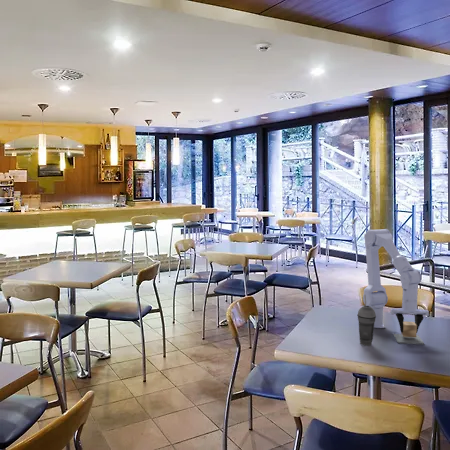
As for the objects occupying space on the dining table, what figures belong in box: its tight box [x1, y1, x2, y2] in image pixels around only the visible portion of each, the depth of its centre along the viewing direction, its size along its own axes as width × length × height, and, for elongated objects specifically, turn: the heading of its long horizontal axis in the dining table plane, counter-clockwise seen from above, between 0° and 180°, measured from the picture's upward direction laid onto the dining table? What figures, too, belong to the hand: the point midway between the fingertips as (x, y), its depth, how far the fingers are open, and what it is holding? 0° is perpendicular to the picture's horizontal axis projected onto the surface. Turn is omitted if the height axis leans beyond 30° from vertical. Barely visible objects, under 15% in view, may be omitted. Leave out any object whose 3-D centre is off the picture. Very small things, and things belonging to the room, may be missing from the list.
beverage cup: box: [357, 294, 376, 347], centre depth 188 cm, size 7×7×20 cm
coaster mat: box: [393, 333, 425, 346], centre depth 194 cm, size 10×10×1 cm
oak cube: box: [400, 321, 418, 337], centre depth 193 cm, size 5×5×5 cm
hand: (408, 331), depth 193 cm, fingers closed on oak cube, 5 cm apart
